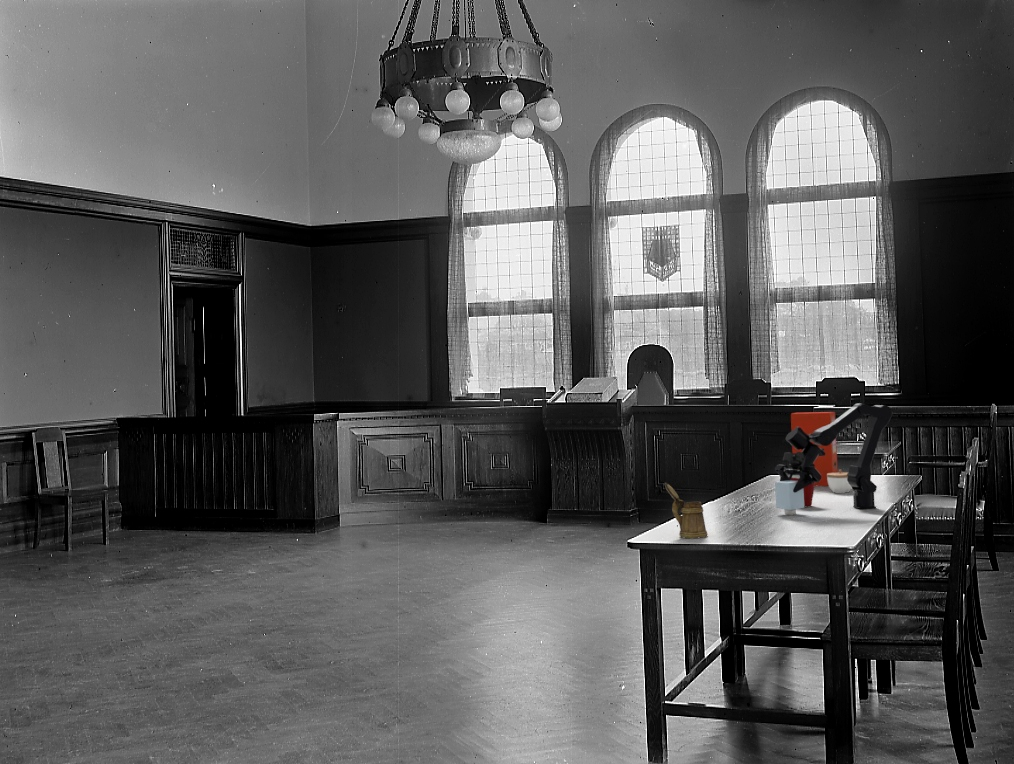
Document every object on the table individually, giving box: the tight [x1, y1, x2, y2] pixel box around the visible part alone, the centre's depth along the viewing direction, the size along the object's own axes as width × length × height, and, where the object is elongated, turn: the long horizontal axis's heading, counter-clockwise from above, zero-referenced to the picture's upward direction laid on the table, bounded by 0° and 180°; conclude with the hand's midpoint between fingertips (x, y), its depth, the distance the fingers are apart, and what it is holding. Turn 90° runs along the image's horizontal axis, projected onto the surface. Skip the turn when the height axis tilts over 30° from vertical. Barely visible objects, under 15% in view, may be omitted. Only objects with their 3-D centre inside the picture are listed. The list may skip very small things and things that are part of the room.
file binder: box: [790, 411, 839, 487], centre depth 480 cm, size 8×17×32 cm, turn 57°
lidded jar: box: [827, 469, 852, 494], centre depth 453 cm, size 11×11×9 cm
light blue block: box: [774, 480, 805, 510], centre depth 395 cm, size 7×7×10 cm
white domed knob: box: [783, 509, 797, 516], centre depth 395 cm, size 4×4×3 cm
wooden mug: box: [664, 482, 708, 539], centre depth 361 cm, size 9×14×18 cm, turn 69°
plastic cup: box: [791, 475, 815, 508], centre depth 417 cm, size 11×11×12 cm
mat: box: [791, 514, 840, 523], centre depth 383 cm, size 12×12×1 cm
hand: (786, 491), depth 394 cm, fingers closed on light blue block, 7 cm apart
